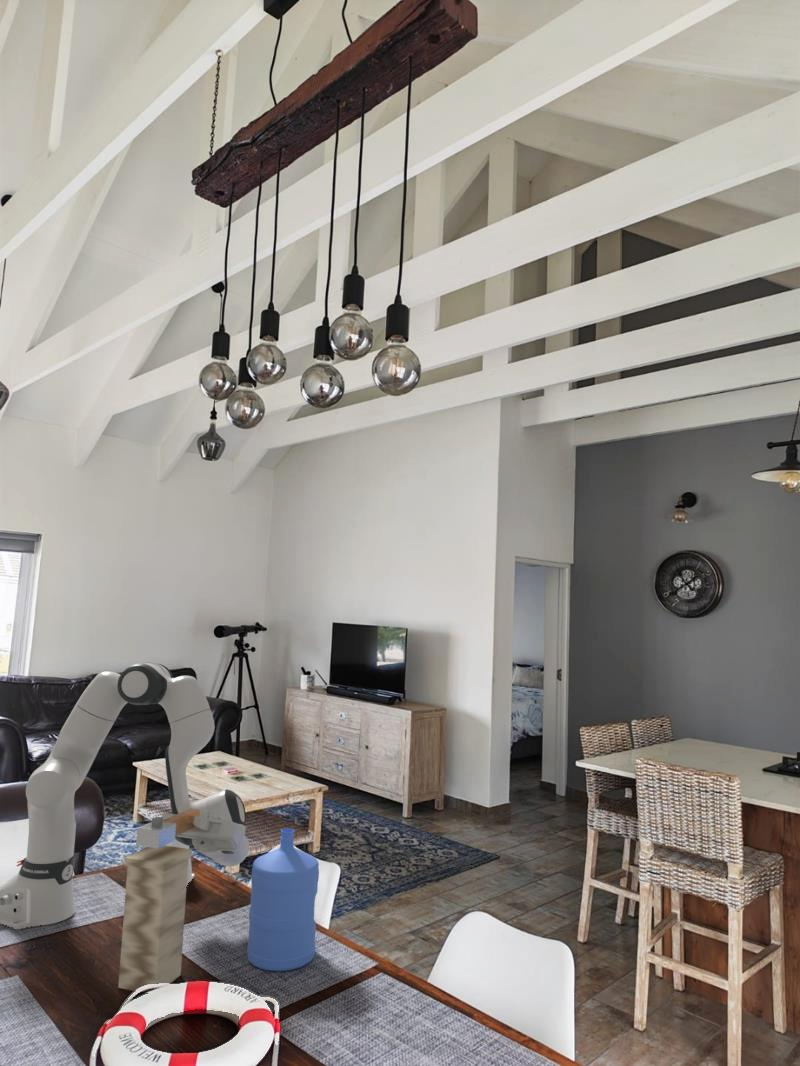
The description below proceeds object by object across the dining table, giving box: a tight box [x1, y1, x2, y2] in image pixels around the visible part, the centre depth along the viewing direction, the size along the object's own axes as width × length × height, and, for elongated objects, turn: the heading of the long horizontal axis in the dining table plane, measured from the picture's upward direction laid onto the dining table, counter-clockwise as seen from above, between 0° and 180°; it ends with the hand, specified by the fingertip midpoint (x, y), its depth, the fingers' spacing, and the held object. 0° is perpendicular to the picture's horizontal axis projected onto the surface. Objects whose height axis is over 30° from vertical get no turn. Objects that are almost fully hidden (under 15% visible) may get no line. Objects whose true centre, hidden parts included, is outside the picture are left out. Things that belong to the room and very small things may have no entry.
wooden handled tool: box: [135, 808, 200, 849], centre depth 159 cm, size 18×6×5 cm, turn 164°
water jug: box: [246, 828, 320, 972], centre depth 166 cm, size 16×16×28 cm
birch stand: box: [117, 846, 193, 992], centre depth 153 cm, size 10×10×26 cm
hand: (186, 818), depth 164 cm, fingers closed on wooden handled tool, 2 cm apart
